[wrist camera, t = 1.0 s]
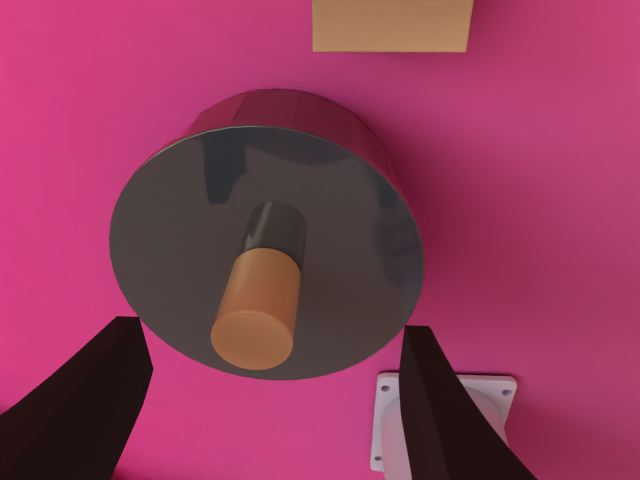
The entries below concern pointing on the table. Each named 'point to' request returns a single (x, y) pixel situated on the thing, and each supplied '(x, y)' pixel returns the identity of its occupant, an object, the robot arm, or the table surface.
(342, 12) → the block
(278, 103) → the dark grey hollow cylinder
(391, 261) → the lid
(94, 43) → the table surface
